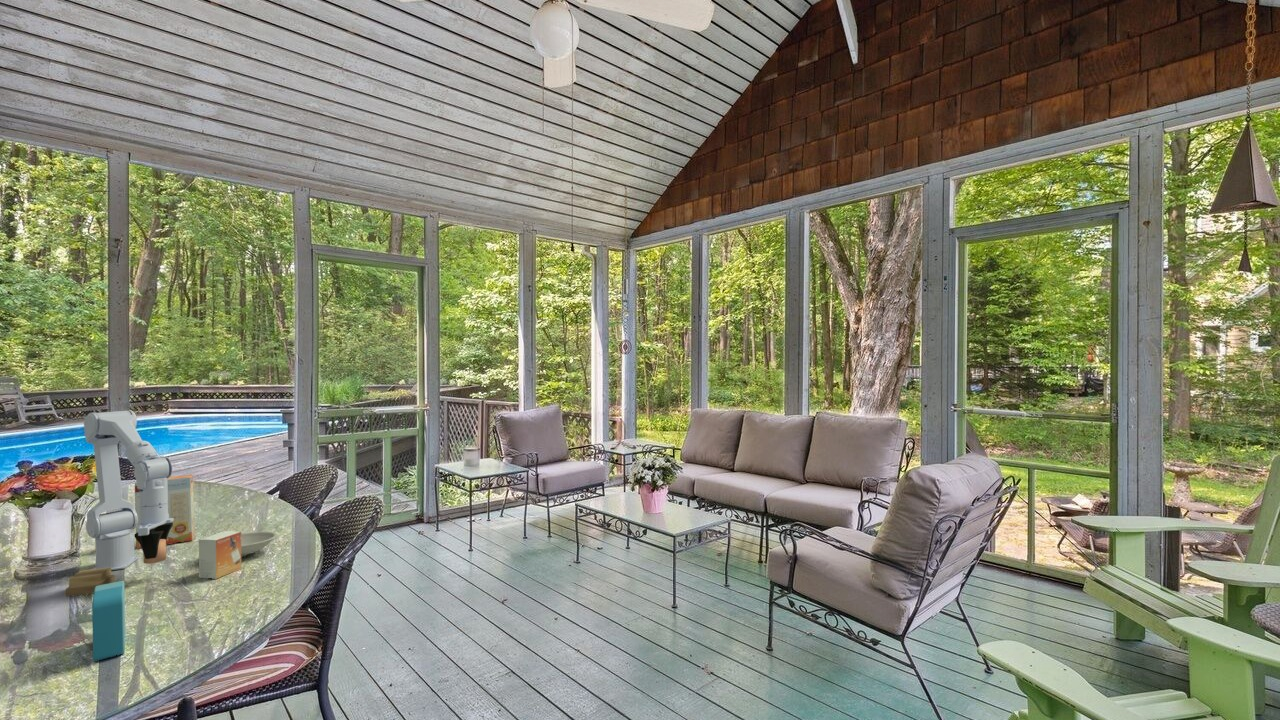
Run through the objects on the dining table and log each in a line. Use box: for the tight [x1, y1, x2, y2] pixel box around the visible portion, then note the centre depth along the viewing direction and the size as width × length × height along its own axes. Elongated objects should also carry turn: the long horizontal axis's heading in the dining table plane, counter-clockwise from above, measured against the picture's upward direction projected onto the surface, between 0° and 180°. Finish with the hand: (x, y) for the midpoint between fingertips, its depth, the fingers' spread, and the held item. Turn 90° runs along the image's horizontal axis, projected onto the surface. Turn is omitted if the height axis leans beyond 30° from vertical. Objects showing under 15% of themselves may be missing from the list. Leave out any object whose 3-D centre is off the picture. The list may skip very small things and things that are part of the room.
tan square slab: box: [65, 574, 116, 598], centre depth 148 cm, size 7×7×2 cm
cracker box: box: [134, 474, 196, 550], centre depth 184 cm, size 14×6×21 cm, turn 121°
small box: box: [198, 530, 242, 580], centre depth 157 cm, size 8×6×10 cm
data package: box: [91, 580, 126, 662], centre depth 117 cm, size 12×4×12 cm, turn 41°
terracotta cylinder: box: [143, 539, 167, 565], centre depth 153 cm, size 5×5×5 cm
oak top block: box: [68, 567, 112, 588], centre depth 147 cm, size 6×6×2 cm
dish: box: [241, 531, 278, 558], centre depth 171 cm, size 18×14×5 cm
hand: (154, 555), depth 153 cm, fingers closed on terracotta cylinder, 5 cm apart
